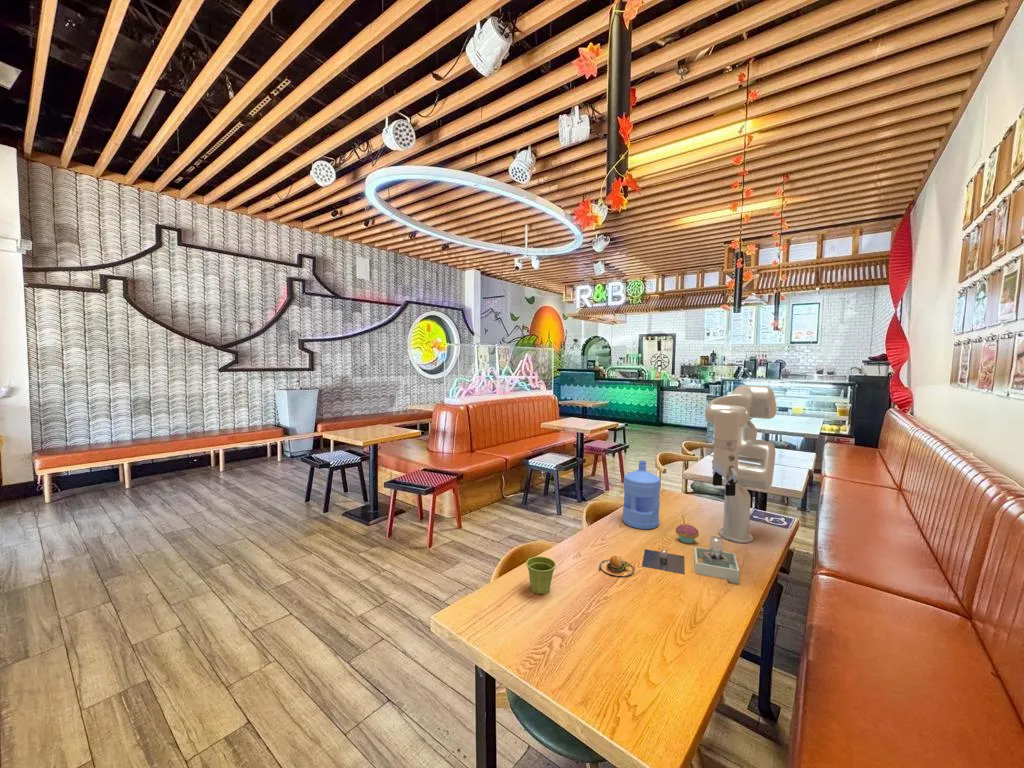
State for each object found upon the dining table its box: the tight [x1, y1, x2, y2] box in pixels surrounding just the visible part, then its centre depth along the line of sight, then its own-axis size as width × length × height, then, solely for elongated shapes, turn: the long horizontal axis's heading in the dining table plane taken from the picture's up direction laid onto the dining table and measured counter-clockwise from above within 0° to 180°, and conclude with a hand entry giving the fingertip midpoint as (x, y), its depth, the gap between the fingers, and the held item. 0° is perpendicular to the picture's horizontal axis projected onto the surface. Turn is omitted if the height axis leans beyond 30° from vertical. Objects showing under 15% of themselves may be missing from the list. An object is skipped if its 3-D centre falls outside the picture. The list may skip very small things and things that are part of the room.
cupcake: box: [675, 512, 700, 544], centre depth 168 cm, size 9×8×12 cm
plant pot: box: [525, 555, 557, 595], centre depth 134 cm, size 9×9×9 cm
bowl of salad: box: [598, 555, 635, 578], centre depth 146 cm, size 12×12×8 cm
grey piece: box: [701, 535, 730, 568], centre depth 147 cm, size 6×6×11 cm
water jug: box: [622, 460, 661, 530], centre depth 187 cm, size 16×16×28 cm
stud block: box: [641, 548, 686, 576], centre depth 151 cm, size 14×14×5 cm
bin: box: [693, 546, 740, 585], centre depth 147 cm, size 13×13×5 cm
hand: (723, 490), depth 150 cm, fingers open, 9 cm apart
